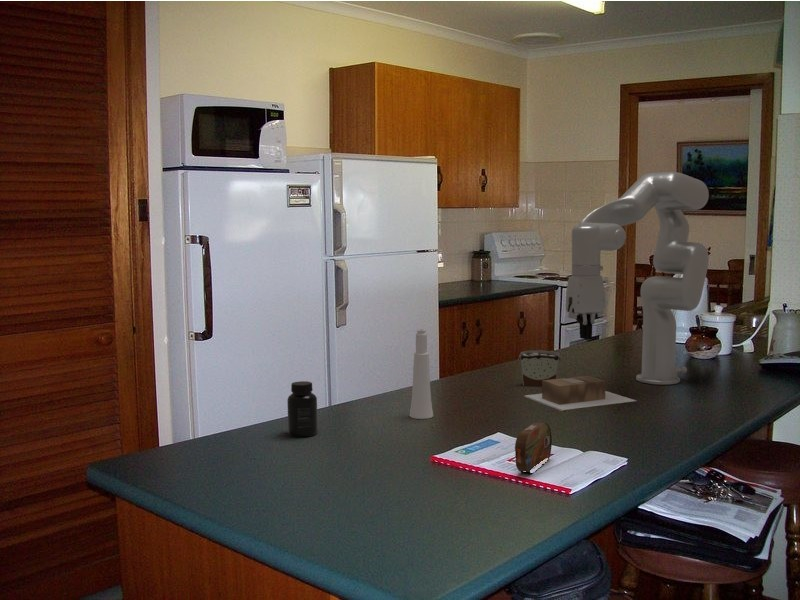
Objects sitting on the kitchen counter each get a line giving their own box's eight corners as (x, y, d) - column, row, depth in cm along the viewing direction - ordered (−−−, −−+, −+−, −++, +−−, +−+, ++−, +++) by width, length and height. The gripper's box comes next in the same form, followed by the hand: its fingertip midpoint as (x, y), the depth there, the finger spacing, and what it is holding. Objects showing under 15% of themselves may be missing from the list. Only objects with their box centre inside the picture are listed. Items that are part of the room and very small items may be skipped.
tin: (527, 479, 158) (527, 436, 157) (511, 476, 159) (512, 434, 158) (553, 458, 171) (553, 419, 170) (538, 456, 172) (539, 417, 171)
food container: (558, 383, 243) (559, 350, 242) (560, 388, 237) (561, 354, 236) (517, 382, 245) (517, 349, 243) (518, 387, 238) (518, 353, 237)
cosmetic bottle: (404, 416, 205) (404, 329, 203) (420, 411, 210) (420, 327, 207) (422, 420, 201) (422, 332, 199) (438, 415, 206) (438, 329, 203)
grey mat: (595, 388, 236) (595, 387, 236) (636, 402, 219) (637, 400, 219) (524, 396, 226) (524, 395, 226) (562, 411, 210) (562, 409, 210)
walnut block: (587, 375, 228) (542, 380, 222) (605, 380, 221) (559, 385, 215) (587, 393, 228) (542, 398, 222) (605, 399, 221) (559, 404, 215)
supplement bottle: (322, 431, 192) (321, 381, 191) (310, 438, 185) (309, 387, 184) (296, 428, 194) (295, 379, 193) (282, 436, 188) (281, 385, 186)
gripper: (599, 268, 226) (599, 333, 228) (554, 272, 220) (554, 339, 222) (617, 270, 219) (617, 337, 221) (571, 274, 213) (571, 343, 215)
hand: (585, 338), depth 222 cm, fingers closed
